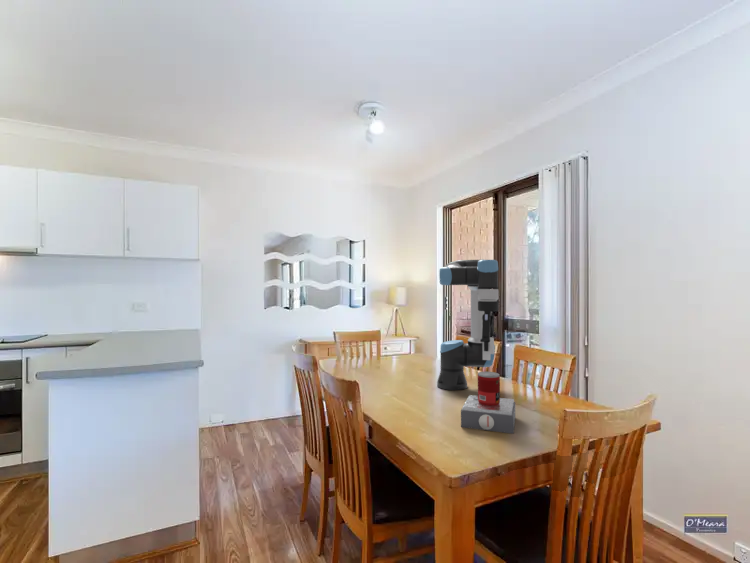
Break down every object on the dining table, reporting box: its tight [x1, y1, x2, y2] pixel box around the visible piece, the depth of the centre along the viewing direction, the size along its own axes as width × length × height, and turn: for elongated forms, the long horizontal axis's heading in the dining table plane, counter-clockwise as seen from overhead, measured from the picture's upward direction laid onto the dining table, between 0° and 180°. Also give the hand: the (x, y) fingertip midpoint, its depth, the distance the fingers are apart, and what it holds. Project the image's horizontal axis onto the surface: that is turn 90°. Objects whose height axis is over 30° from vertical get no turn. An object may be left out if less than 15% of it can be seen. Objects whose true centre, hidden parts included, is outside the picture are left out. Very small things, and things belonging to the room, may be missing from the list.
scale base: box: [460, 401, 516, 435], centre depth 147 cm, size 19×18×6 cm
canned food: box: [477, 371, 501, 406], centre depth 148 cm, size 8×8×11 cm
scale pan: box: [461, 394, 515, 416], centre depth 148 cm, size 17×17×1 cm
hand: (488, 356), depth 148 cm, fingers open, 13 cm apart
